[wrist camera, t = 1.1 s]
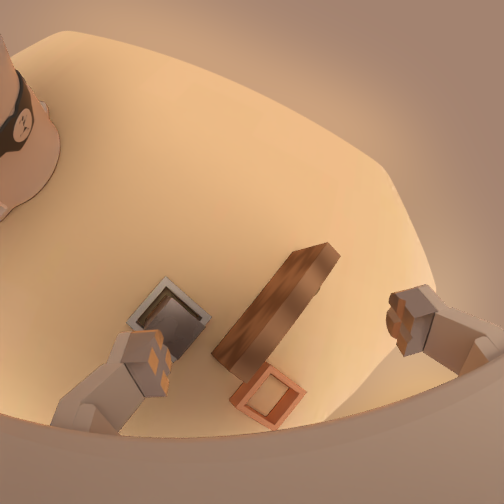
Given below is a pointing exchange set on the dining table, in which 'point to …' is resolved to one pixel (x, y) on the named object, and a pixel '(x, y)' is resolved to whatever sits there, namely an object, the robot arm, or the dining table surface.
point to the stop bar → (174, 325)
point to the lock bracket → (284, 404)
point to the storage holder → (167, 283)
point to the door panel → (275, 310)
